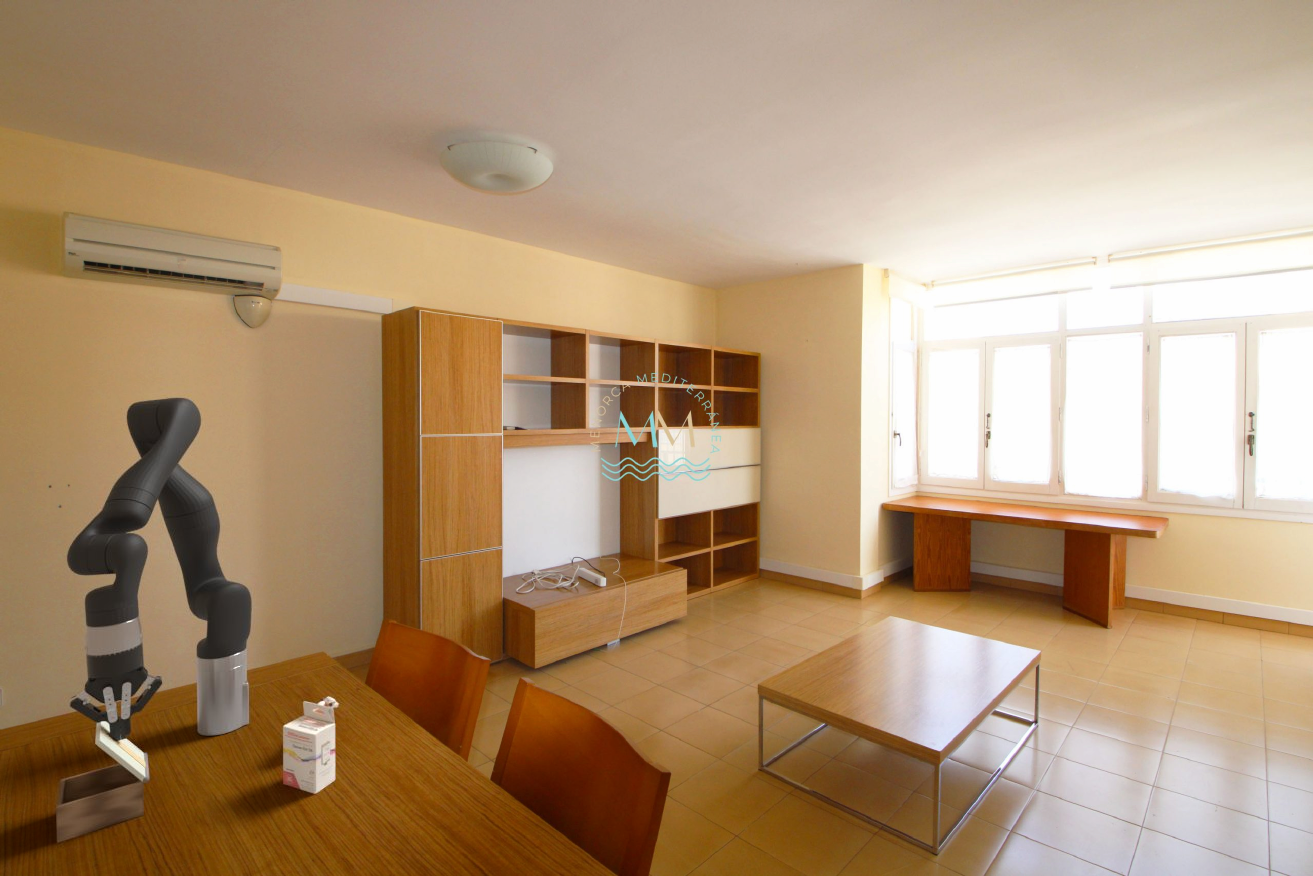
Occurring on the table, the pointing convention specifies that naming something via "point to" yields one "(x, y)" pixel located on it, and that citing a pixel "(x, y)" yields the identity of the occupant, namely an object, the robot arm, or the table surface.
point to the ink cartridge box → (310, 749)
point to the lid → (123, 752)
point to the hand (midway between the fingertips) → (120, 738)
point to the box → (97, 801)
